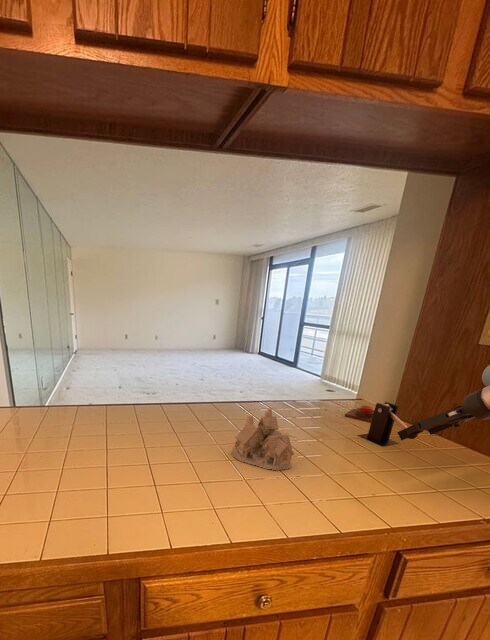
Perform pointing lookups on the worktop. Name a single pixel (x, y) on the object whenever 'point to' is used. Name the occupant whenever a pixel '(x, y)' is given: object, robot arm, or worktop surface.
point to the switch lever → (398, 420)
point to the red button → (366, 409)
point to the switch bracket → (381, 425)
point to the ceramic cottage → (263, 444)
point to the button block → (360, 415)
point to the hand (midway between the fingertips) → (414, 433)
